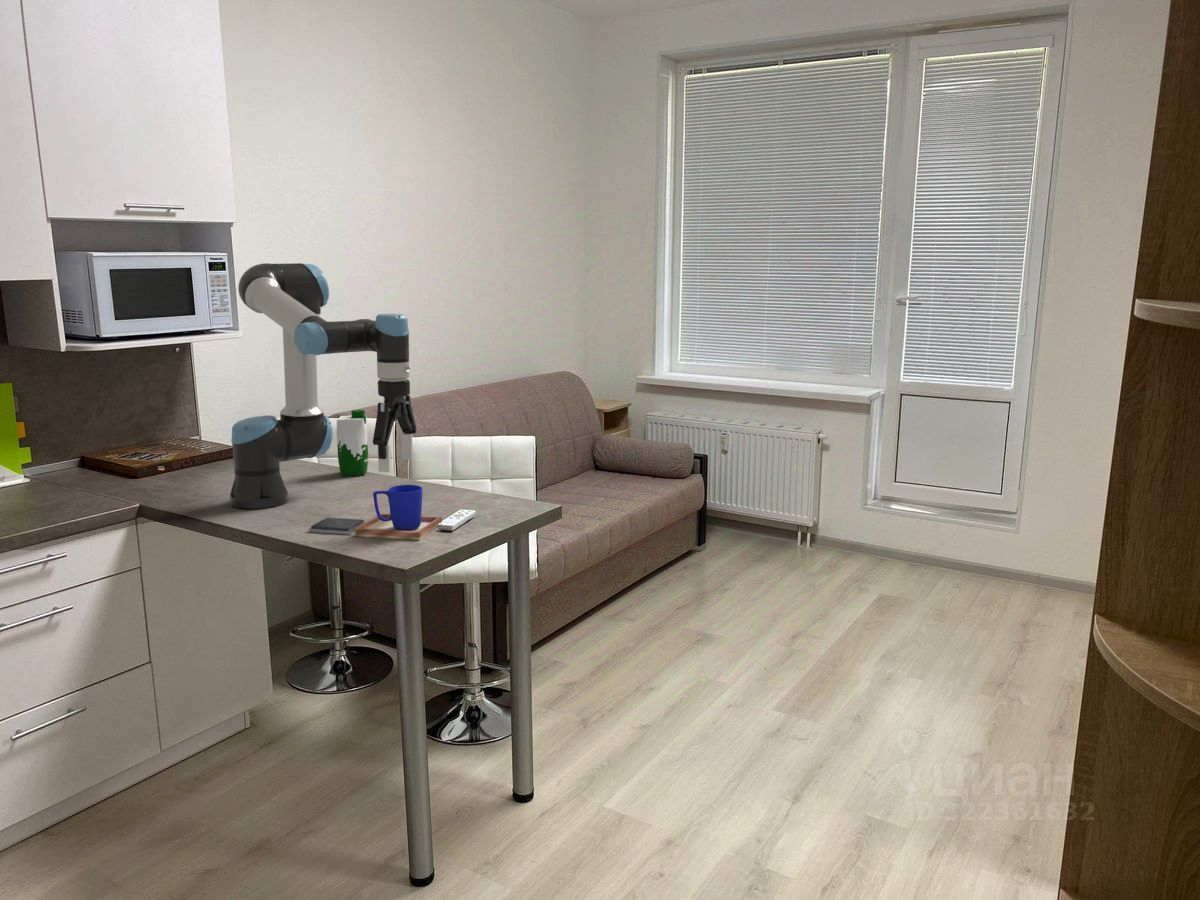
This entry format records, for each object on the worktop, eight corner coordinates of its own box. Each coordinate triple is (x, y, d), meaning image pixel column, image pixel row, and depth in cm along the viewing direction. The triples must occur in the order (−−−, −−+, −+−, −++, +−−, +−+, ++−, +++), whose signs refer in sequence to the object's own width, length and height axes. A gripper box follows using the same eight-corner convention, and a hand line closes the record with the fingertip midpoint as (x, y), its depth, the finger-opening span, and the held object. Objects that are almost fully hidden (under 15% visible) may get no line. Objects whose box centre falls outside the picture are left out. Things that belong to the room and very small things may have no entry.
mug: (379, 522, 230) (377, 484, 228) (427, 523, 229) (425, 484, 227) (370, 532, 222) (368, 492, 220) (419, 532, 221) (418, 492, 219)
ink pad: (308, 532, 223) (308, 526, 223) (326, 522, 232) (325, 516, 232) (350, 534, 221) (349, 529, 221) (366, 524, 230) (366, 519, 230)
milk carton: (366, 476, 283) (363, 412, 279) (336, 476, 282) (333, 413, 278) (370, 470, 292) (367, 408, 288) (341, 470, 291) (338, 408, 287)
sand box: (355, 536, 220) (354, 528, 220) (380, 520, 234) (380, 513, 234) (420, 540, 217) (419, 532, 217) (442, 523, 231) (441, 516, 231)
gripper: (386, 386, 206) (389, 478, 210) (428, 373, 230) (429, 455, 234) (355, 385, 207) (359, 476, 211) (400, 372, 231) (402, 453, 235)
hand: (396, 465), depth 223 cm, fingers open, 13 cm apart
